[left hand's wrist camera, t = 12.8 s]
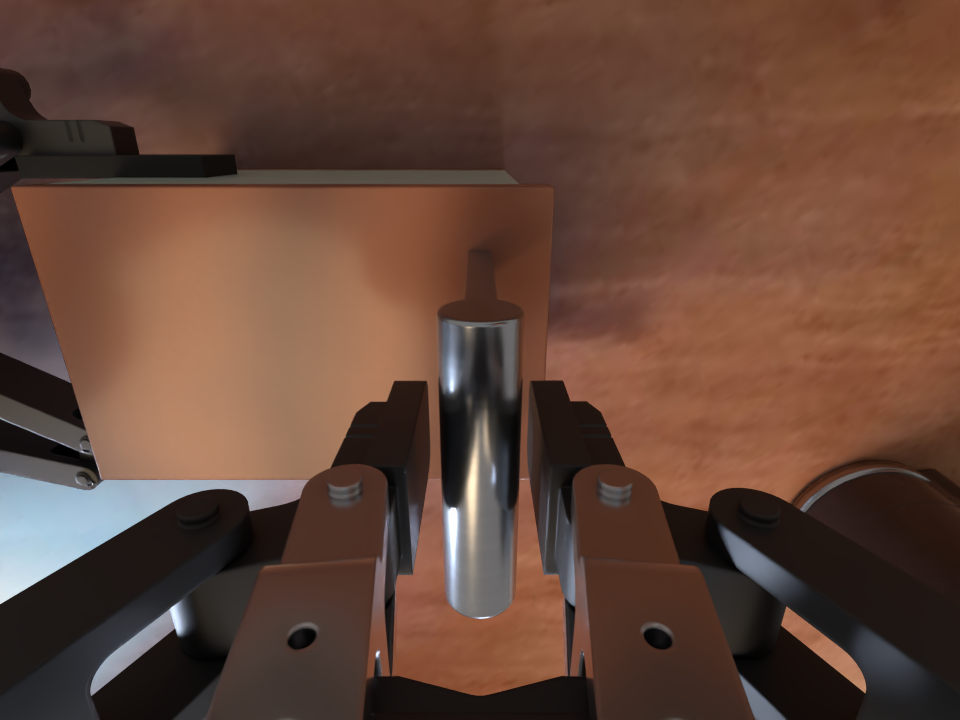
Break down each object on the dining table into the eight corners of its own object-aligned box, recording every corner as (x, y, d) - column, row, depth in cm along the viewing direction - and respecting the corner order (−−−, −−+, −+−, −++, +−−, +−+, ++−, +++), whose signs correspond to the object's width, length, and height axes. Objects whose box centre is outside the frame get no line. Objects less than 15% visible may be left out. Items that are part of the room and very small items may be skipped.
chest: (505, 169, 26) (521, 183, 16) (502, 354, 29) (513, 460, 19) (210, 169, 26) (43, 183, 16) (243, 354, 29) (123, 460, 19)
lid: (549, 183, 16) (620, 220, 8) (536, 460, 19) (576, 675, 12) (42, 183, 16) (-393, 220, 8) (122, 461, 19) (-122, 677, 11)
